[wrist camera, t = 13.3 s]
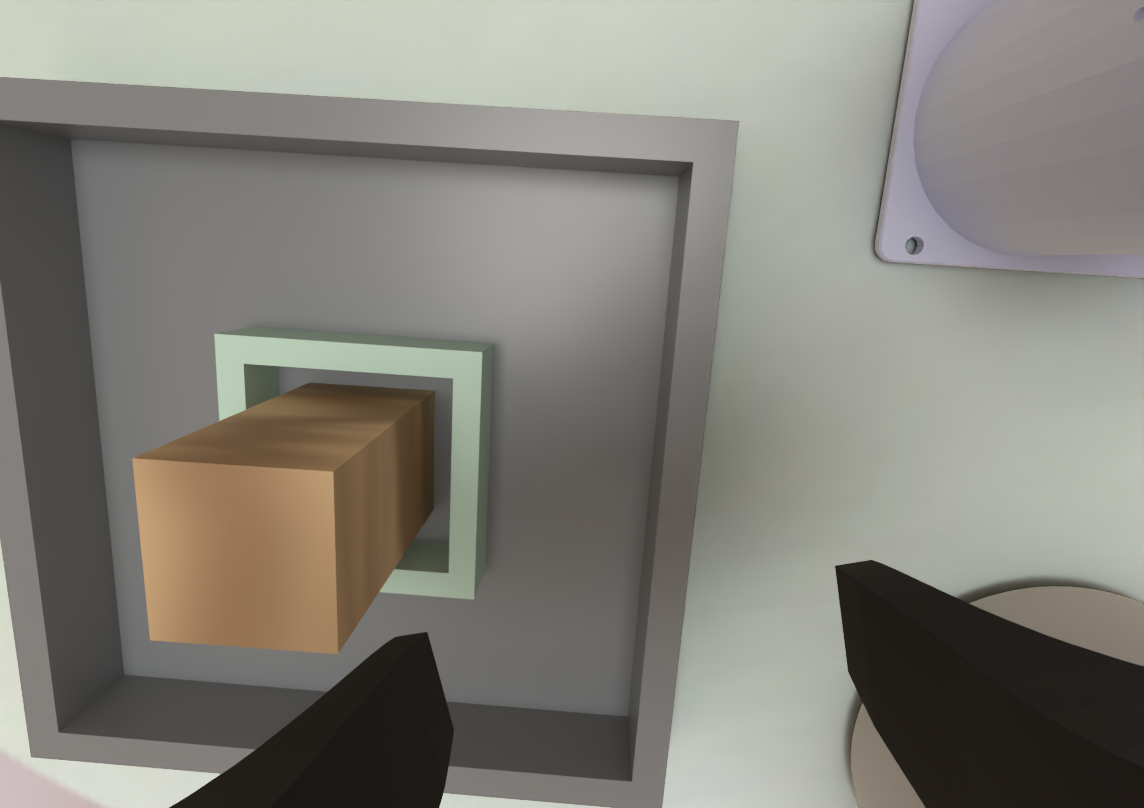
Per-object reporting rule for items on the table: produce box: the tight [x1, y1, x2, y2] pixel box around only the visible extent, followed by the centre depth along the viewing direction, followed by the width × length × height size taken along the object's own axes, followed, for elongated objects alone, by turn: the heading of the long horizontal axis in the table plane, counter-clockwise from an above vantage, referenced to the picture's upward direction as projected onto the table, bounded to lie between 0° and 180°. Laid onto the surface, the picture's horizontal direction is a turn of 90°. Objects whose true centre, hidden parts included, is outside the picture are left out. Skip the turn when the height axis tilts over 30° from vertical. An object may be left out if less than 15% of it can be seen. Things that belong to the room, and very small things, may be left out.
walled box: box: [0, 77, 739, 808], centre depth 20 cm, size 20×20×4 cm
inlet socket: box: [214, 327, 494, 600], centre depth 20 cm, size 8×8×2 cm
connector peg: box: [132, 383, 435, 654], centre depth 17 cm, size 4×4×8 cm
